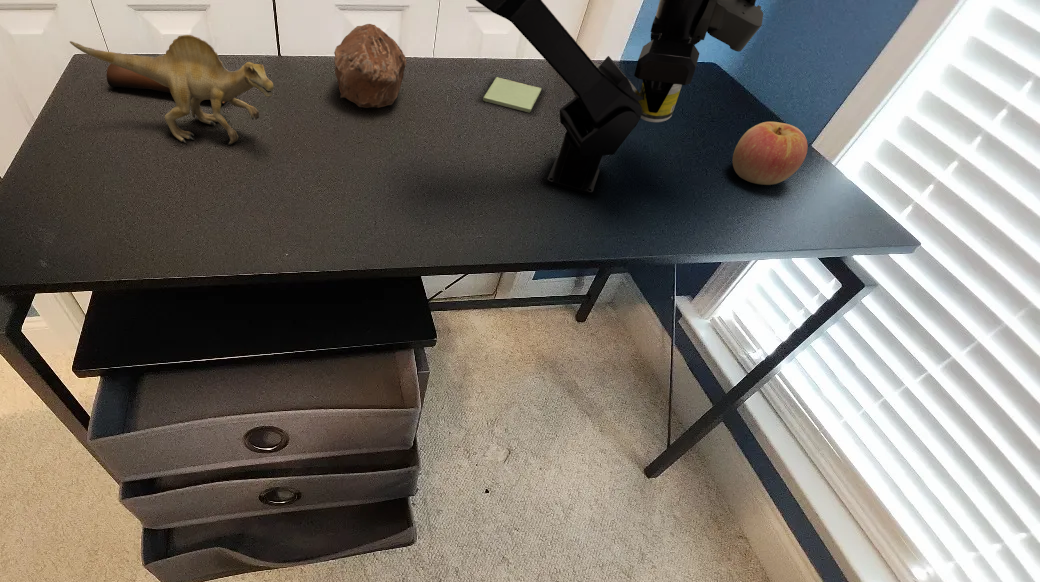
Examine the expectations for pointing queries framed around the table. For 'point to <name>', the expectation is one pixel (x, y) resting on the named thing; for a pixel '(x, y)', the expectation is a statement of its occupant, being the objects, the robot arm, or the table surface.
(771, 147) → the apple
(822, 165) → the table surface
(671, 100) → the supplement bottle
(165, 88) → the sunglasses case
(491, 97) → the mat
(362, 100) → the decorative rock
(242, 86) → the dinosaur figurine
